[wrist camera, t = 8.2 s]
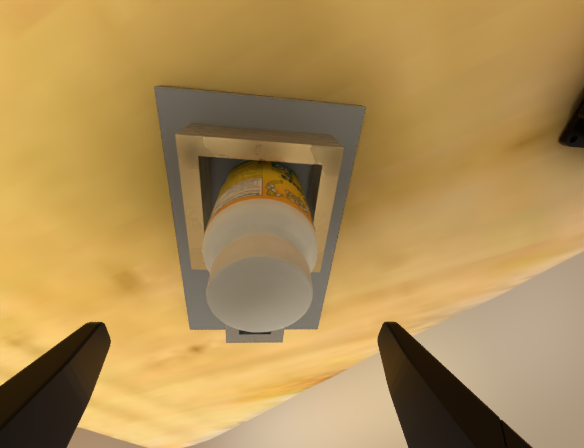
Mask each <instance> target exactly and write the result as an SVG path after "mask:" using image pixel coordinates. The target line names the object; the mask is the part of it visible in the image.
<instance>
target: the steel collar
mask: <svg viewBox="0 0 584 448" xmlns="http://www.w3.org/2000/svg"><path fill="white" fill-rule="evenodd" d="M283 334H284V328H282V329H279V330H275V331H270V332H247V331H242V330H238V329H235V328H233V327H230V326H228V325H226V343H260V342H283Z"/></svg>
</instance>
